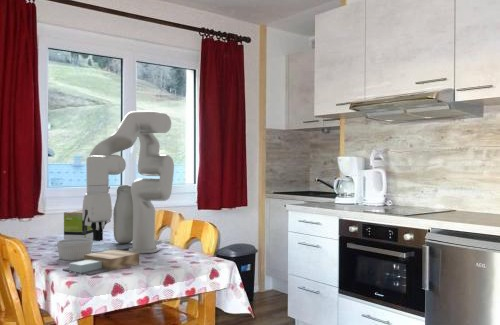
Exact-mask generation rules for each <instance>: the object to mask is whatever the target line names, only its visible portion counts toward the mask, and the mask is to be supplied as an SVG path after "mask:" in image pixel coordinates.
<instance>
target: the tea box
mask: <svg viewBox="0 0 500 325" xmlns="http://www.w3.org/2000/svg"><path fill="white" fill-rule="evenodd" d="M65 239H91V240H93V230H92V229H91V227H90V226H85V221H83V220H82V209H75V210H70V211H65V212H63V240H65Z"/></svg>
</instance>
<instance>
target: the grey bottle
mask: <svg viewBox="0 0 500 325" xmlns="http://www.w3.org/2000/svg"><path fill="white" fill-rule="evenodd" d="M112 214H113V215H112V216H113V236H114V237H113V238H114V240H115V242H117V243H118V244H122V245H123V244H130V243H132V240H133V200H132V194H131V185H128V184H121V185H119V186H118V187H117V189H116V199H115V203H114V207H113V212H112Z"/></svg>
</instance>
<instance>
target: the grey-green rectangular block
mask: <svg viewBox="0 0 500 325" xmlns="http://www.w3.org/2000/svg"><path fill="white" fill-rule="evenodd" d="M68 268H69V271H74V272H79V273H82V272H87V271H91V270H96V269H100V268H102V261H99V260H93V259H89V260H84V259H83V260H78V261H75V262H69V267H68ZM69 271H68V272H69ZM74 272H73V273H74ZM79 273H78V274H79Z"/></svg>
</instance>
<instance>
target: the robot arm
mask: <svg viewBox="0 0 500 325" xmlns="http://www.w3.org/2000/svg"><path fill="white" fill-rule="evenodd" d="M171 128H172V120H171V117H170V116H169V115H168V114H167V113H163V112H159V111H153V110H137V111H135V110H133V111H129V112H128V113H126V114H125V116H124V117H123V119H122V121H121V122H120V124H119V125H118V127H117V129H116V130H115V132H114V133H113V134H112V135H110V136H108V137H106V138H104V139H103V140H101V141H100V142H98V143H97V144H96V145H95V146H94V147H93V149H92V151H91V152H90V153H89V155H88V156H87V157H86V193H84V196H83V201H82V202H83V203H82V209H81V210H82V220H83V221H85V226H90V227H91V229H92V230H93V239H92V240H93V242H94V241H95V242H101V241H104V229H105V228H106V225H107V224H108V223H111V219H112V216H113V215H112V214H113V211H112V210H113V208H112V207H113V206H112V197H111V194H110V192H109V191H110V189H111V186H110V185H109V181H110V180H109V178H110V176H109V175H111V176H115V175H116V176H117V175H121V174H122V173H123V172H124V171H125V169H126V167H127V166H126V165H127V164H126V159H125V158H123V157H122V156H121V155H119V154H116V153H119V152H123V151H125V150H128V149H131V148H132V147H133V146H134V145H135V143H136V141H137V139H138V140H139V154H138V160H137V172H138V173H139V175H141V176H144V177H143V178H137V179H135V180H134V181H133V182H131V185H130V186H131V194H132V200H133V240H132V242H131V243H132V246H131V247H129V248H128V252H135V253H139V254H152V253H157V252H159V247H157V246H159V245H162V244H163V242H162V240H161V239H159V240H157V239H156V209H155V206H154V204H153V203H152V202H153V201H154V202H164V201H168V200H169V199H170V197H171V195H172V191H173V190H172V189H173V181H174V171H175V163H174V162H175V161H174V159H173V158H172V156H171V155H168V154H160V147H161V146H160V145H161V144H160V141H159V140H158V138H157V137H156V136H155V134H166V133H168V132H169V131H170V130H171ZM145 177H159V178H145Z"/></svg>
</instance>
